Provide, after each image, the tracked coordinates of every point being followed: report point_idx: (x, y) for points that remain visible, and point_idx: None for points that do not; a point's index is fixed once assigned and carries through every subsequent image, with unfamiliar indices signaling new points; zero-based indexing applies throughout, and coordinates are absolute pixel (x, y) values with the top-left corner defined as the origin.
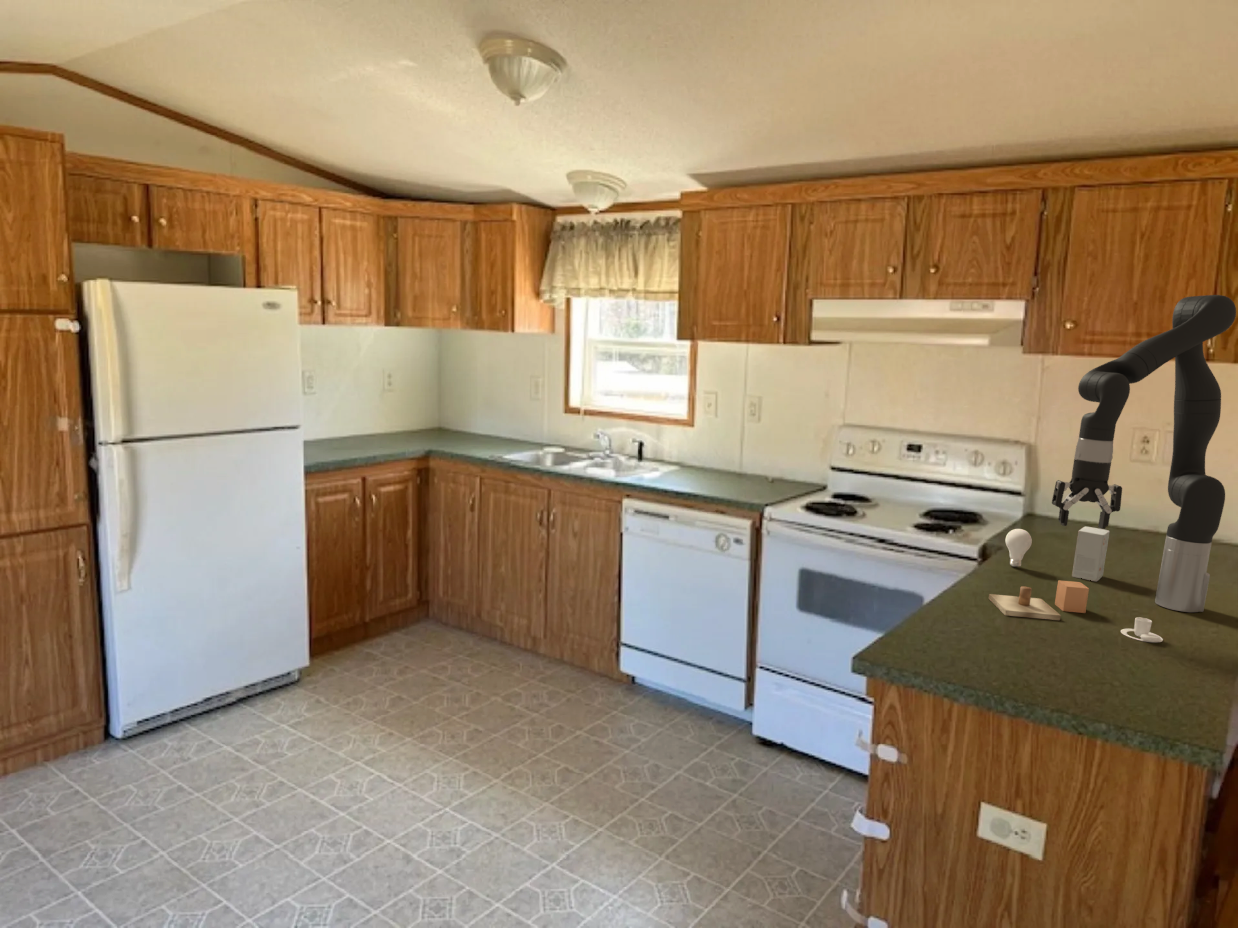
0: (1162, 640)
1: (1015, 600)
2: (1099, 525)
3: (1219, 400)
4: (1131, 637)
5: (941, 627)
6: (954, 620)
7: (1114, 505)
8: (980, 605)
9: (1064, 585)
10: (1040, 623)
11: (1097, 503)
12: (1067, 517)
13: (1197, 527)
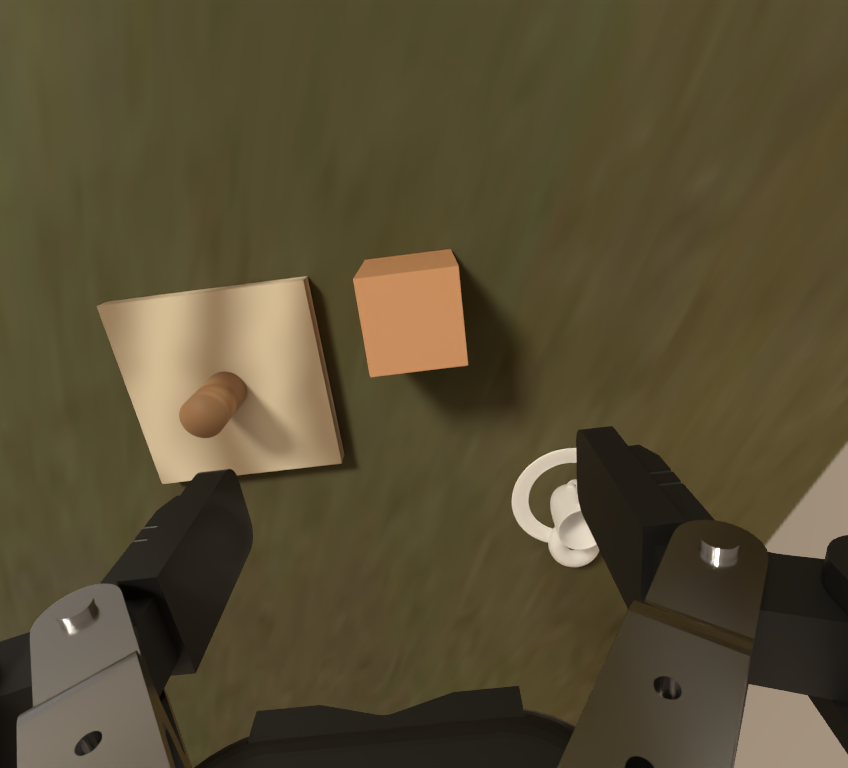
0: None
1: (198, 354)
2: (582, 455)
3: None
4: (525, 530)
5: (5, 638)
6: (28, 576)
7: (845, 731)
8: (86, 401)
9: (366, 352)
10: (275, 506)
11: (637, 607)
12: (219, 606)
13: None
